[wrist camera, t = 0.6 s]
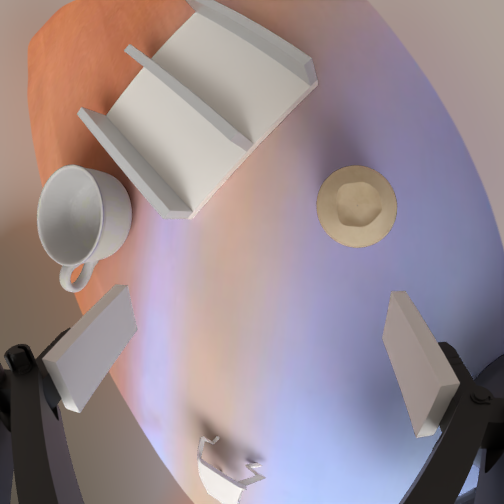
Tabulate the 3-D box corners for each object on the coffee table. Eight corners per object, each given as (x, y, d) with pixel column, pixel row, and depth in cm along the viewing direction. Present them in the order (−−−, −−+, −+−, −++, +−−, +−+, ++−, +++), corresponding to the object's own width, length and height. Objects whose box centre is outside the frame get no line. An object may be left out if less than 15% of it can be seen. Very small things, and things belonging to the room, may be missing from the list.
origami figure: (285, 478, 33) (276, 504, 29) (239, 494, 36) (227, 516, 31) (224, 418, 35) (208, 440, 30) (182, 439, 37) (165, 459, 32)
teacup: (95, 163, 37) (49, 155, 29) (157, 185, 34) (110, 178, 26) (71, 262, 39) (27, 269, 32) (127, 296, 37) (81, 312, 29)
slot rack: (318, 84, 28) (311, 58, 23) (192, 218, 33) (163, 219, 28) (205, 11, 30) (185, -13, 25) (107, 123, 36) (76, 113, 30)
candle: (351, 252, 29) (353, 267, 19) (312, 207, 30) (296, 200, 20) (394, 214, 27) (417, 210, 18) (355, 169, 28) (359, 143, 18)
